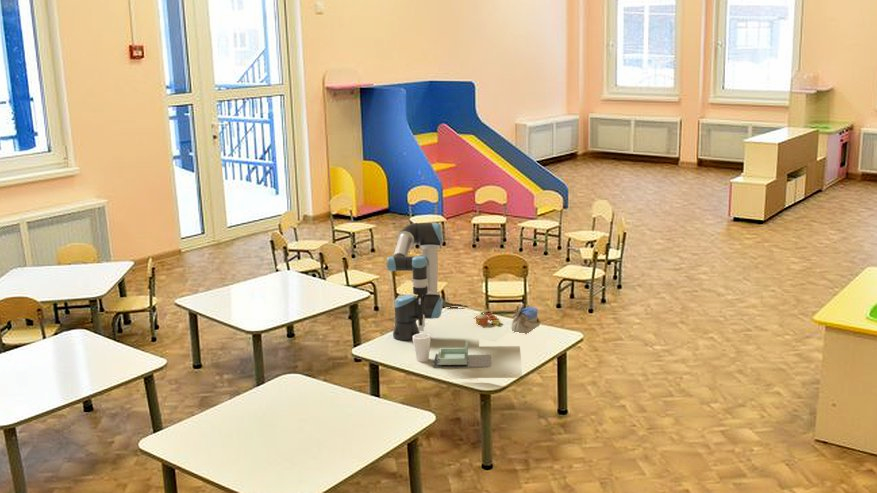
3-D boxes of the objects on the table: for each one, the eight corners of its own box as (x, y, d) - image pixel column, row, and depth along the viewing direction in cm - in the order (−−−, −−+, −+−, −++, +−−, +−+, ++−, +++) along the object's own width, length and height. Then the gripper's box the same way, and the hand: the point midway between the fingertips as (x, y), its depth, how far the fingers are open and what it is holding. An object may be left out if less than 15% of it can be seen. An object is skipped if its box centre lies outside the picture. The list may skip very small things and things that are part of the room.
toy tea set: (504, 329, 504) (503, 313, 502) (478, 331, 502) (477, 315, 500) (493, 316, 529) (493, 301, 527) (468, 318, 527) (468, 303, 525)
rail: (435, 355, 461) (435, 353, 460) (490, 355, 459) (490, 353, 458) (433, 367, 443) (433, 365, 443) (490, 367, 441) (490, 364, 441)
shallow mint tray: (439, 354, 460) (439, 341, 459) (468, 354, 459) (467, 341, 458) (437, 366, 443) (437, 352, 442) (467, 365, 442) (466, 352, 441)
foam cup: (432, 356, 460) (431, 333, 457) (430, 362, 451) (429, 338, 448) (414, 356, 461) (413, 333, 458) (412, 362, 451) (411, 338, 449)
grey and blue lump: (522, 321, 517) (522, 295, 514) (548, 324, 510) (548, 297, 507) (505, 333, 495) (505, 306, 491) (532, 337, 487) (532, 309, 484)
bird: (470, 312, 538) (469, 297, 536) (466, 316, 531) (466, 300, 529) (442, 310, 544) (442, 295, 542) (438, 314, 537) (438, 298, 535)
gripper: (414, 281, 457) (416, 323, 462) (411, 291, 438) (412, 334, 443) (428, 281, 457) (430, 323, 462) (425, 290, 438) (427, 334, 442)
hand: (421, 328), depth 452 cm, fingers open, 7 cm apart
